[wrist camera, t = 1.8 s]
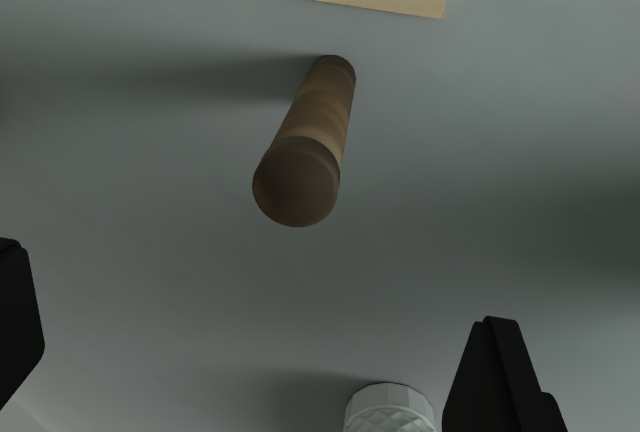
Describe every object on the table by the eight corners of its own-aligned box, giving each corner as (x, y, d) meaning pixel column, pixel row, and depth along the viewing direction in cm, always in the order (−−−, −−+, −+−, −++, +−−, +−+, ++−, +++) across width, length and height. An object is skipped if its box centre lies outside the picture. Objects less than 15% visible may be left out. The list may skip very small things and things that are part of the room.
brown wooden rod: (360, 58, 28) (343, 157, 16) (352, 106, 29) (331, 233, 17) (310, 50, 28) (255, 143, 16) (305, 99, 29) (249, 219, 17)
